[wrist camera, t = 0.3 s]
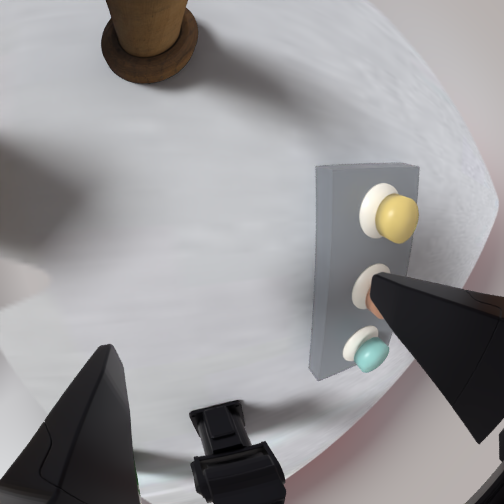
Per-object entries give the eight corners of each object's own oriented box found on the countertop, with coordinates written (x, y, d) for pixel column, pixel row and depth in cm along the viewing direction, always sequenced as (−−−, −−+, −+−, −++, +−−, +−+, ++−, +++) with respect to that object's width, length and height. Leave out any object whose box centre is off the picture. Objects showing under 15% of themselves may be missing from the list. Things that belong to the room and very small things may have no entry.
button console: (376, 339, 36) (387, 351, 33) (308, 368, 33) (318, 382, 30) (402, 162, 25) (420, 167, 23) (315, 166, 23) (333, 170, 20)
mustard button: (403, 233, 24) (415, 239, 22) (373, 240, 23) (385, 247, 21) (407, 191, 22) (420, 196, 21) (376, 195, 21) (390, 200, 20)
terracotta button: (390, 303, 27) (400, 311, 26) (362, 315, 26) (372, 324, 25) (397, 271, 25) (408, 278, 24) (368, 281, 24) (379, 289, 23)
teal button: (377, 356, 30) (384, 364, 29) (351, 368, 29) (358, 377, 28) (384, 332, 29) (392, 340, 27) (356, 344, 28) (365, 353, 26)
